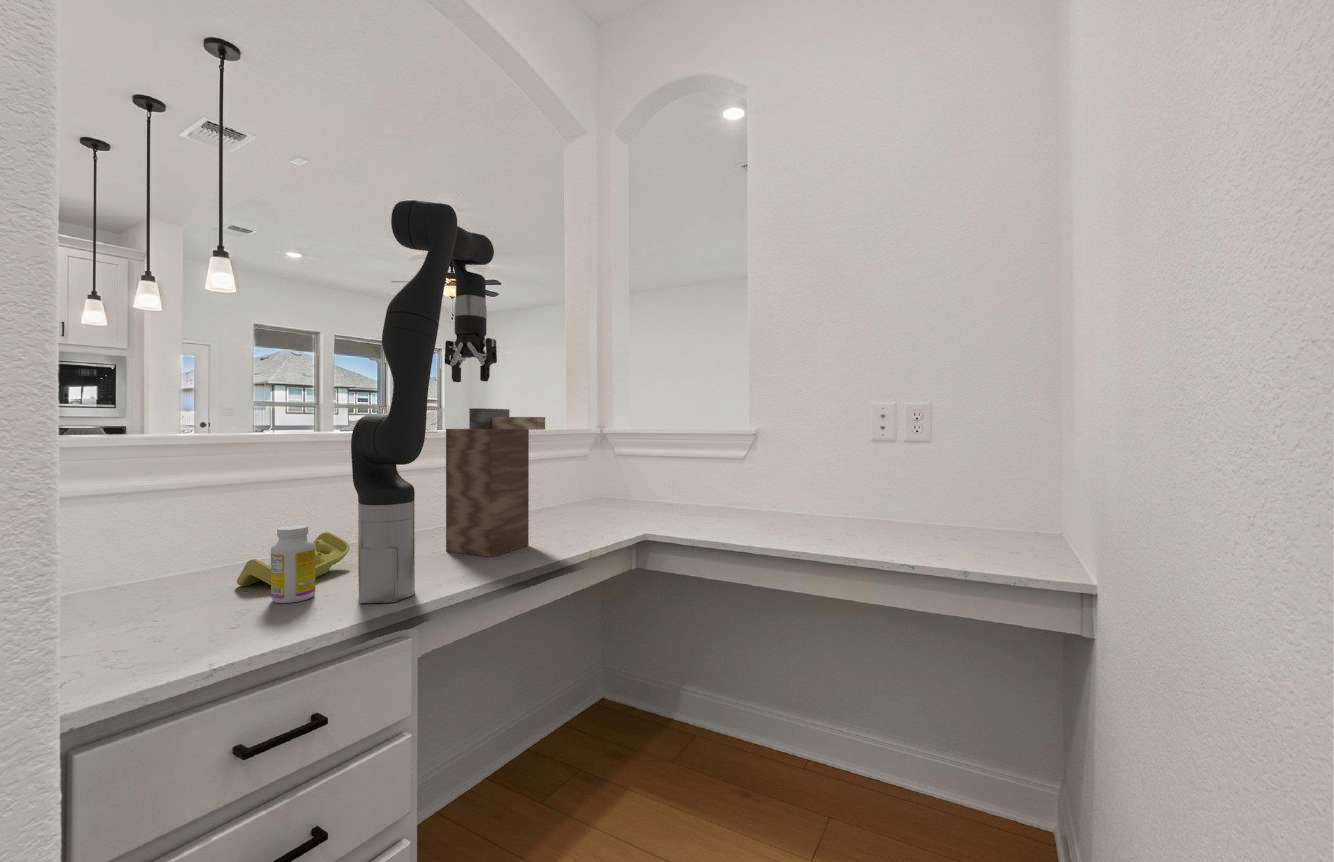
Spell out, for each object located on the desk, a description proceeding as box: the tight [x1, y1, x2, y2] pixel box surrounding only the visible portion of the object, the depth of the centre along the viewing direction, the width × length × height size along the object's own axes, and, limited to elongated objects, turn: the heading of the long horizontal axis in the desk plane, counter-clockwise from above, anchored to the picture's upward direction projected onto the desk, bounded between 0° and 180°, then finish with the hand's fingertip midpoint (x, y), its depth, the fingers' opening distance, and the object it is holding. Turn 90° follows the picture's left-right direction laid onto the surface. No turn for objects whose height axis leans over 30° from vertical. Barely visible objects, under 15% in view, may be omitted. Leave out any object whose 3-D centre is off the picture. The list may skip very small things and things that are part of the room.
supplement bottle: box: [270, 524, 316, 604], centre depth 103 cm, size 7×7×13 cm
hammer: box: [468, 407, 546, 431], centre depth 140 cm, size 18×10×5 cm, turn 67°
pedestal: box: [445, 428, 530, 558], centre depth 144 cm, size 14×14×30 cm
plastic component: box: [236, 531, 351, 588], centre depth 118 cm, size 20×7×10 cm
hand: (470, 381), depth 143 cm, fingers open, 8 cm apart
